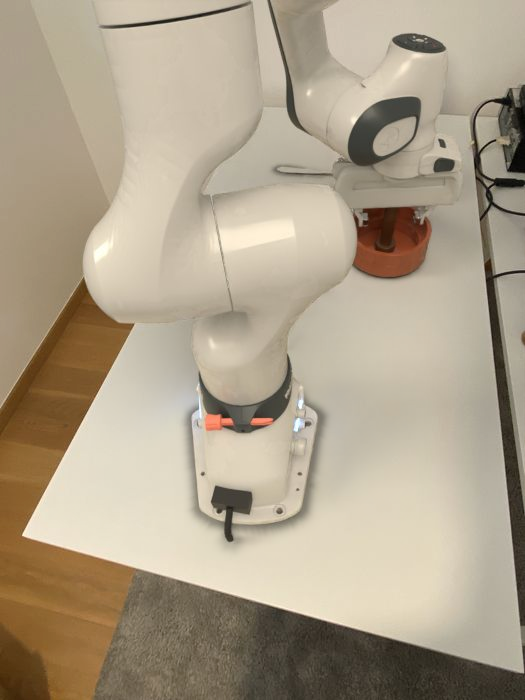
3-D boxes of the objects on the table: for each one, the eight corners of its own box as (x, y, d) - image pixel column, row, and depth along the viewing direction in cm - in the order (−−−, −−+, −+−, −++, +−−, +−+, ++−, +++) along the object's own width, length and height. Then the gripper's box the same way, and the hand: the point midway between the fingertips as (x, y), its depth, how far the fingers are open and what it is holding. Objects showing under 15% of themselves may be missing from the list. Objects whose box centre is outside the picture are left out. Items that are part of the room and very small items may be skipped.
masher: (395, 254, 91) (406, 197, 81) (375, 255, 92) (383, 198, 82) (393, 240, 94) (403, 184, 83) (373, 241, 94) (381, 185, 84)
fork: (279, 165, 112) (278, 157, 110) (388, 178, 106) (389, 171, 104) (275, 173, 110) (274, 166, 108) (385, 187, 104) (387, 180, 103)
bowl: (431, 278, 88) (438, 253, 83) (348, 281, 90) (351, 256, 85) (418, 224, 97) (424, 199, 92) (343, 227, 98) (345, 202, 93)
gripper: (334, 167, 76) (331, 237, 87) (473, 161, 74) (452, 233, 85) (332, 144, 79) (329, 214, 90) (465, 137, 77) (445, 209, 89)
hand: (390, 223), depth 88 cm, fingers open, 8 cm apart
